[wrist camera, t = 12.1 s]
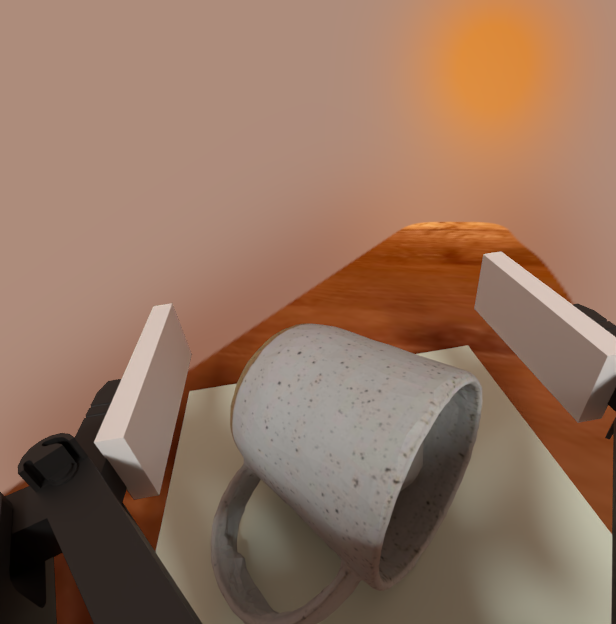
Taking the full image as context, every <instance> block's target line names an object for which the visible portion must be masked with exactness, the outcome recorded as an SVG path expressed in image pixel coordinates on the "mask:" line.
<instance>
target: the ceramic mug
mask: <svg viewBox="0 0 616 624" xmlns="http://www.w3.org/2000/svg"><path fill="white" fill-rule="evenodd" d="M481 409H482V386H481V384H480V382H479V380H478V379H477V378H476V377H475V376H474V375H473V374H472V373H470V372H468V371H465V370H463V369H460V368H457V367H454V366H451V365H448V364H444V363H441V362H438V361H435V360H432V359H429V358H426V357H423V356H419V355H416V354H413V353H411V352H408V351H405V350H402V349H399V348H397V347H394V346H391V345H388V344H384V343H381V342H378V341H375V340H371V339H369V338H366V337H363V336H360V335H358V334H355V333H352V332H349V331H346V330H343V329H340V328H337V327H333V326H326V325H319V324H299V325H295V326H292V327H289V328H286V329H284V330H282V331H280V332H278V333H277V334H275V335H274V336H272V337H271V338H270V339H268V340H267V341H266V342H265V343H264V344H263V345H262V346H261V347H260V348H259V349H258V350H257V352H256V353H255V354H254V355H253V356H252V358H251V359H250V360H249V361H248V363H247V364H246V366H245V368H244V370H243V372H242V374H241V376H240V378H239V380H238V382H237V385H236V388H235V392H234V395H233V399H232V402H231V408H230V428H231V433H232V437H233V440H234V442H235V444H236V446H237V448H238V450H239V451H240V453H241V454H242V456H243V458H244V464H243V466H242V467H241V468H240V469H239V470H238V471H237V472H236V474H235V475H234V477H233V478H232V480H231V481H230V483H229V484H228V487H227V489H226V490H225V492H224V494H223V495H222V497H221V500H220V503H219V506H218V508H217V511H216V514H215V516H214V520H213V524H212V532H211V563H212V567H213V571H214V575H215V578H216V581H217V584H218V587H219V589H220V591H221V593H222V595H223V597H224V598H225V600H226V602H227V603H228V605H229V607H230V608H231V610H232V611H233V613H234V614H235V615H236V616H238V617H239V618H240V619H241V620H242V621H243V622H244V623H245V624H317V623H319V622H321V621H323V620H325V619H326V618H327V617H328V616H329V615H331V614H332V613H333V612H334V611H335V610H336V609H338V608H339V607H340V605H341V604H342V603H343V602H344V601H345V600H346V599H347V598H348V597H349V596H350V595H351V594H352V593H353V592H354V590H355V589H356V587H357V586H358V584H359V582H360V581H362V580H363V581H365V582H366V583H367V584H368V585H369V586H370V587H372V588H373V589H376V590H378V591H384V590H386V589H389V588H391V587H392V586H393V585H395V584H397V583H398V582H399V581H400V580H401V579H402V578H403V577H405V576H406V575H407V574H408V573H409V571H410V570H411V569H412V568H413V567H414V566H415V565H416V563H417V561H418V559H419V558H420V556H421V555H422V553H423V552H424V550H425V549H426V548H427V547H428V545H429V544H430V543H431V541H432V539H433V538H434V536H435V534H436V532H437V530H438V529H439V527H440V525H441V523H442V521H443V520H444V518H445V517H446V515H447V512H448V509H449V508H450V506H451V504H452V502H453V500H454V497H455V495H456V492H457V490H458V488H459V486H460V484H461V482H462V479H463V477H464V474H465V471H466V469H467V466H468V464H469V462H470V459H471V455H472V450H473V447H474V444H475V442H476V437H477V431H478V429H479V422H480V418H481ZM260 480H262V481H263V482H265V483H266V484H267V485H268V486H269V487H270V488H271V489H272V490H273V491H274V492H275V493H276V494H277V495H278V496H279V497H280V498H281V499H282V500H283V501H284V502H285V503H287V504H288V505H289V506H290V507H291V508H292V509H293V510H294V511H295V512H296V513H297V514H298V515H299V517H300V518H301V519H302V520H303V521H304V522H305V523H306V524H307V525H308V526H309V527H310V528H311V529H312V530H313V531H314V532H315V533H316V534H317V535H318V536H319V537H320V538H321V539H322V540H323V541H324V542H325V543H326V544H327V545H328V547H329V548H330V549H332V550H333V551H334V552H336V554H337V555H338V556H339V557H340V558H341V566H340V569H339V571H338V574H337V576H336V577H335V578H334V580H333V581H332V582H331V583H330V585H328V586H327V587H325V588H324V589H323V590H322V591H321V592H320V593H319V594H318V595H317V596H315V597H314V598H313V599H312V600H310V601H309V602H308V603H306V604H305V605H304V606H302V607H300V608H298V609H296V610H294V611H287V612H282V613H278V612H276V611H274V610H273V609H272V608H271V607H270V605H269V604H268V602H267V601H266V599H265V598H264V596H263V595H262V593H261V592H260V590H259V589H258V588H257V586H256V585H255V583H254V582H253V580H252V578H251V576H250V574H249V572H248V570H247V568H246V562H245V558H244V557H243V556H242V555H241V554H240V553H238V552H237V537H238V529H239V524H240V521H241V517H242V515H243V513H244V511H245V506H246V504H247V502H248V501H249V499H250V497H251V495H252V493H253V491H254V489H255V488H256V487H257V485H258V483H259V482H260Z"/></svg>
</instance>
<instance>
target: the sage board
mask: <svg viewBox="0 0 616 624" xmlns="http://www.w3.org/2000/svg"><path fill="white" fill-rule="evenodd" d="M416 355H419V356H423V357H426V358H429V359H432V360H435V361H438V362H441V363H444V364H448V365H451V366H454V367H457V368H460V369H463V370H465V371H468V372H470V373H472V374H473V375H474V376H475V377H476V378H477V379H478V380H479V382H480V384H481V386H482V409H481V418H480V422H479V429H478V431H477V437H476V442H475V444H474V447H473V450H472V455H471V459H470V462H469V464H468V466H467V469H466V471H465V474H464V477H463V479H462V482H461V484H460V486H459V488H458V490H457V492H456V495H455V497H454V500H453V502H452V504H451V506H450V508H449V509H448V512H447V515H446V517H445V518H444V520H443V521H442V523H441V525H440V527H439V529H438V530H437V532H436V534H435V536H434V538H433V539H432V541H431V543H430V544H429V545H428V547H427V548H426V549H425V550H424V552H423V553H422V555H421V556H420V558H419V559H418V561H417V563H416V565H415V566H414V567H413V568H412V569H411V570H410V571H409V573H408V574H407V575H406V576H405V577H403V578H402V579H401V580H400V581H399V582H398V583H397V584H395V585H393V586H392V587H391V588H389V589H386V590H384V591H378V590H376V589H373V588H372V587H370V586H369V585H368V584H367V583H366V582H365V581H363V580H362V581H360V582H359V584H358V586H357V587H356V589H355V590H354V592H353V593H352V594H351V595H350V596H349V597H348V598H347V599H346V600H345V601H344V602H343V603H342V604H341V605H340V607H339V608H338V609H336V610H335V611H334V612H333V613H332V614H331V615H329V616H328V617H327V618H326V619H325V620H323V621H321V622H319V623H317V624H611V608H612V534H611V533H610V531H609V530H608V529H607V528H606V526H605V525H604V524H603V522H602V521H601V520H600V518H599V517H598V516H597V514H596V513H595V512H594V510H593V509H592V508H591V506H590V505H589V504H588V503H587V501H586V500H585V499H584V497H583V496H582V495H581V493H580V492H579V491H578V489H577V488H576V487H575V485H574V484H573V483H572V482H571V480H570V479H569V478H568V476H567V475H566V474H565V472H564V471H563V470H562V468H561V467H560V466H559V464H558V463H557V462H556V461H555V459H554V458H553V457H552V455H551V454H550V453H549V451H548V450H547V449H546V447H545V446H544V445H543V443H542V442H541V441H540V440H539V438H538V437H537V436H536V434H535V433H534V432H533V430H532V429H531V428H530V426H529V425H528V424H527V422H526V421H525V420H524V419H523V417H522V416H521V415H520V413H519V412H518V411H517V409H516V408H515V407H514V405H513V404H512V403H511V401H510V400H509V399H508V398H507V396H506V395H505V394H504V392H503V391H502V390H501V388H500V387H499V386H498V384H497V383H496V382H495V380H494V379H493V378H492V376H491V375H490V374H489V373H488V371H487V370H486V369H485V367H484V366H483V365H482V363H481V362H480V361H479V359H478V358H477V357H476V355H475V354H474V353H473V352H472V350H471V349H470V348H469V346H462V347H456V348H449V349H443V350H437V351H431V352H425V353H419V354H416ZM236 385H237V384H231V385H225V386H219V387H213V388H207V389H201V390H195V391H190V392H189V396H188V401H187V406H186V411H185V415H184V420H183V425H182V429H181V434H180V439H179V444H178V448H177V453H176V458H175V462H174V467H173V472H172V477H171V481H170V486H169V491H168V496H167V500H166V505H165V510H164V514H163V519H162V524H161V529H160V533H159V538H158V543H157V548H156V554H157V555H158V557H159V558H160V560H161V561H162V563H163V564H164V566H165V567H166V569H167V571H168V572H169V574H170V575H171V577H172V578H173V580H174V581H175V583H176V584H177V586H178V587H179V589H180V590H181V592H182V593H183V595H184V596H185V598H186V599H187V601H188V602H189V604H190V605H191V607H192V608H193V610H194V611H195V613H196V615H197V616H198V618H199V619H200V621H201V622H202V624H245V623H244V622H243V621H242V620H241V619H240V618H239V617H238V616H236V615H235V614H234V613H233V611H232V610H231V608H230V607H229V605H228V603H227V602H226V600H225V598H224V597H223V595H222V593H221V591H220V589H219V587H218V584H217V581H216V578H215V575H214V571H213V567H212V563H211V532H212V524H213V520H214V516H215V514H216V511H217V508H218V506H219V503H220V500H221V497H222V495H223V494H224V492H225V490H226V489H227V487H228V484H229V483H230V481H231V480H232V478H233V477H234V475H235V474H236V472H237V471H238V470H239V469H240V468H241V467H242V466H243V464H244V458H243V456H242V454H241V453H240V451H239V450H238V448H237V446H236V444H235V442H234V440H233V437H232V433H231V428H230V408H231V402H232V399H233V395H234V392H235V388H236ZM237 552H238V553H240V554H241V555H242V556H243V557H244V558H245V562H246V568H247V570H248V572H249V574H250V576H251V578H252V580H253V582H254V583H255V585H256V586H257V588H258V589H259V590H260V592H261V593H262V595H263V596H264V598H265V599H266V601H267V602H268V604H269V605H270V607H271V608H272V609H273V610H274V611H276V612H278V613H282V612H287V611H294V610H296V609H298V608H300V607H302V606H304V605H305V604H306V603H308V602H309V601H310V600H312V599H313V598H314V597H315V596H317V595H318V594H319V593H320V592H321V591H322V590H323V589H324V588H325V587H327V586H328V585H330V583H331V582H332V581H333V580H334V578H335V577H336V576H337V574H338V571H339V569H340V566H341V558H340V557H339V556H338V555H337V554H336V552H334V551H333V550H332V549H330V548H329V547H328V545H327V544H326V543H325V542H324V541H323V540H322V539H321V538H320V537H319V536H318V535H317V534H316V533H315V532H314V531H313V530H312V529H311V528H310V527H309V526H308V525H307V524H306V523H305V522H304V521H303V520H302V519H301V518H300V517H299V515H298V514H297V513H296V512H295V511H294V510H293V509H292V508H291V507H290V506H289V505H288V504H287V503H285V502H284V501H283V500H282V499H281V498H280V497H279V496H278V495H277V494H276V493H275V492H274V491H273V490H272V489H271V488H270V487H269V486H268V485H267V484H266V483H265V482H263V481H262V480H260V482H259V483H258V485H257V487H256V488H255V489H254V491H253V493H252V495H251V497H250V499H249V501H248V502H247V504H246V506H245V511H244V513H243V515H242V517H241V521H240V524H239V529H238V537H237Z"/></svg>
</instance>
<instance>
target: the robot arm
mask: <svg viewBox="0 0 616 624" xmlns="http://www.w3.org/2000/svg"><path fill="white" fill-rule="evenodd" d="M474 309H475V310H476V311H477V312H478V313H479V314H480V315H481V316H482V317H483V318H484V320H485V321H486V322H487V323H488V324H489V325H490V326H491V327H492V328H493V330H494V331H495V332H496V333H497V334H498V335H499V336H500V337H501V338H502V339H503V341H504V342H505V343H506V344H507V345H508V346H509V347H510V348H511V349H512V350H513V352H514V353H515V354H516V355H517V356H518V357H519V358H520V359H521V360H522V361H523V363H524V364H525V365H526V366H527V367H528V368H529V369H530V370H531V371H532V372H533V374H534V375H535V376H536V377H537V378H538V379H539V380H540V381H541V382H542V383H543V385H544V386H545V387H546V388H547V389H548V390H549V391H550V392H551V393H552V395H553V396H554V397H555V398H556V399H557V400H558V401H559V402H560V403H561V404H562V406H563V407H564V408H565V409H566V410H567V411H568V412H569V413H570V414H571V415H572V417H573V418H574V419H575V420H576V421H577V422H584V421H590V420H595V419H601V418H602V416H603V414H604V412H605V410H606V408H607V406H608V405H609V406H610V407H611V408H612V409H613V410H615V411H616V326H615V325H613V324H612V323H611V322H610V321H608V322H607V319H605V318H604V317H602V316H601V315H600V314H598V313H597V312H596V311H594V310H592V309H589V308H587V307H584V306H582V305H580V304H573V305H572V304H571V303H569V302H568V301H567V300H565V299H564V298H563V297H561V296H560V295H559V294H557V293H556V292H555V291H553V290H552V289H551V288H549V287H548V286H547V285H545V284H544V283H543V282H541V281H540V280H539V279H537V278H536V277H535V276H533V275H532V274H531V273H529V272H528V271H526V270H525V269H524V268H522V267H521V266H520V265H518V264H517V263H516V262H514V261H513V260H512V259H510V258H509V257H508V256H506V255H505V254H504V253H502V252H495V253H489V254H483V260H482V266H481V272H480V278H479V284H478V290H477V296H476V302H475V308H474ZM191 355H192V354H191V351H190V348H189V346H188V343H187V340H186V338H185V335H184V333H183V330H182V327H181V325H180V322H179V319H178V317H177V314H176V312H175V309H174V306H173V304H172V303H171V304H164V305H158V306H154V307H153V309H152V311H151V313H150V316H149V318H148V320H147V322H146V325H145V327H144V329H143V332H142V334H141V336H140V338H139V341H138V343H137V345H136V347H135V350H134V352H133V354H132V357H131V359H130V361H129V364H128V366H127V368H126V370H125V373H124V375H123V377H122V379H118V380H113V381H108V382H107V383H106V384H105V385H104V386H103V387H102V388H101V389H100V390H99V391H98V392H97V394H96V396H95V398H94V400H93V402H92V404H91V408H89V410H88V412H87V414H86V418H84V420H83V422H82V424H81V426H80V428H79V430H78V432H77V434H76V436H75V438H74V437H73V436H71V435H70V434H65V433H60V434H56V435H52V436H49V437H47V438H45V439H43V440H41V441H40V442H38V443H37V444H35V445H34V446H33V447H31V448H30V449H29V450H28V451H27V453H26V454H25V455H24V456H23V457H22V459H21V461H20V463H19V465H18V474H19V475H20V476H21V477H22V478H23V479H24V480H25V481H26V482H27V484H28V485H29V486H28V487H26V488H24V489H21V490H19V491H17V492H14V493H12V494H10V495H7V496H4V495H3V494H2V493H1V492H0V624H57V619H56V596H55V573H54V556H56V555H58V554H60V553H63V555H64V557H65V559H66V561H67V564H68V566H69V568H70V571H71V573H72V575H73V577H74V580H75V582H76V584H77V586H78V589H79V591H80V593H81V595H82V598H83V600H84V602H85V604H86V607H87V609H88V611H89V613H90V616H91V618H92V620H93V623H94V624H202V622H201V621H200V619H199V618H198V616H197V615H196V613H195V611H194V610H193V608H192V607H191V605H190V604H189V602H188V601H187V599H186V598H185V596H184V595H183V593H182V592H181V590H180V589H179V587H178V586H177V584H176V583H175V581H174V580H173V578H172V577H171V575H170V574H169V572H168V571H167V569H166V567H165V566H164V564H163V563H162V561H161V560H160V558H159V557H158V555H157V554H156V552H155V551H154V549H153V548H152V546H151V545H150V543H149V542H148V540H147V539H146V537H145V536H144V534H143V533H142V531H141V530H140V528H139V527H138V525H137V523H136V522H135V520H134V519H133V517H132V516H131V514H130V513H129V511H128V510H127V508H126V507H125V505H124V504H123V503H122V502H123V499H124V496H125V492H126V489H127V490H128V492H129V493H130V495H131V496H132V498H133V499H140V498H146V497H151V496H157V495H159V494H160V490H161V485H162V481H163V477H164V472H165V468H166V464H167V459H168V455H169V451H170V446H171V442H172V438H173V433H174V429H175V425H176V420H177V416H178V412H179V407H180V403H181V399H182V394H183V390H184V386H185V381H186V377H187V373H188V368H189V364H190V360H191ZM613 434H614V443H613V526H612V608H611V624H616V418H615V419H614V421H613V423H612V425H611V427H610V429H609V431H608V433H607V435H606V437H605V438H607V439H610V438H611V436H612V435H613Z"/></svg>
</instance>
